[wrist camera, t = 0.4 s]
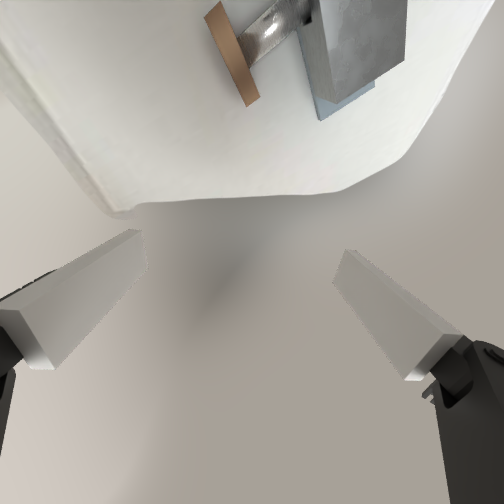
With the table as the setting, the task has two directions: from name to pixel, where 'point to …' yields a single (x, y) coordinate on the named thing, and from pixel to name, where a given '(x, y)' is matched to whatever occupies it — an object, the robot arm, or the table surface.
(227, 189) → the table surface
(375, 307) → the robot arm
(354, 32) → the housing
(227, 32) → the brown wooden block
